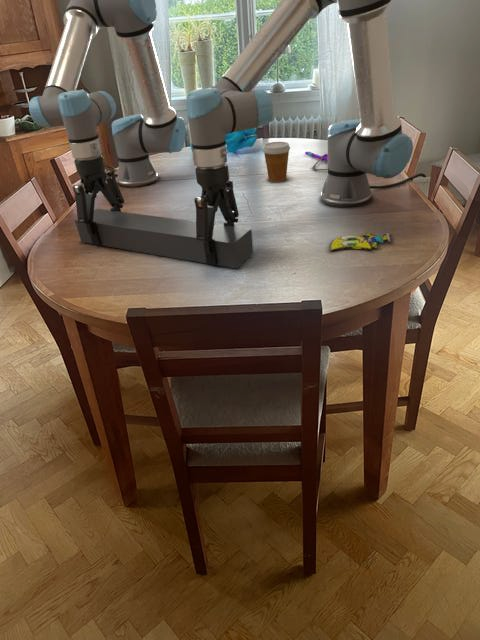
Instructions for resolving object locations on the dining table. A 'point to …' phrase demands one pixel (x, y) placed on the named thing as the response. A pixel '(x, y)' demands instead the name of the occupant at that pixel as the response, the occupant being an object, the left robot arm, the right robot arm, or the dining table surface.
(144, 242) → the thick board
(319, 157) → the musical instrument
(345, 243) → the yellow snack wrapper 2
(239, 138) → the toy
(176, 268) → the dining table surface
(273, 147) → the disposable coffee cup
